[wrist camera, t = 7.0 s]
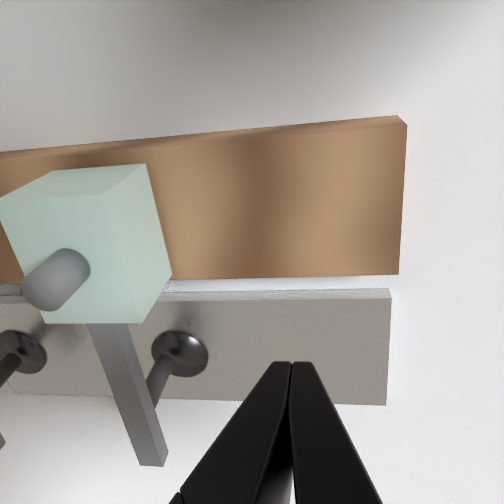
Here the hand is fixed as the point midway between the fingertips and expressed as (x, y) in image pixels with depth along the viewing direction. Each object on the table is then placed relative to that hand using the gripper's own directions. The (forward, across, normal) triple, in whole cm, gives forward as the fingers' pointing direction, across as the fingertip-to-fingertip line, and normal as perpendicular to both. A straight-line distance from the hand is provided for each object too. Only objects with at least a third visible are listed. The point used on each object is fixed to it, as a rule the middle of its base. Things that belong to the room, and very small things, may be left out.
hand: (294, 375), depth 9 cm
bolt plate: (+11, +8, +8) cm, 16 cm away
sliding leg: (+9, +8, +4) cm, 13 cm away
